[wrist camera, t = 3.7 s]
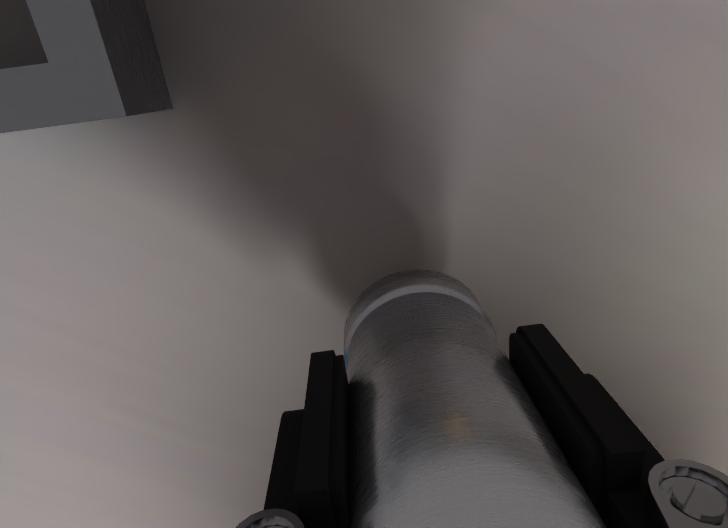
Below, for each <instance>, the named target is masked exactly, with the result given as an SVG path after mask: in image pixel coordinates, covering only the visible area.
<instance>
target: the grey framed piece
mask: <svg viewBox="0 0 728 528" xmlns="http://www.w3.org/2000/svg"><path fill="white" fill-rule="evenodd" d="M26 2H27V5H28V8H29V10H30V13H31V16H32V19H33V21H34V24H35V27H36V30H37V32H38V35H39V38H40V41H41V43H42V46H43V49H44V52H45V54H46V57H47V60H48V63H42V64H35V65H27V66H20V67H12V68H5V69H0V133H5V132H12V131H20V130H27V129H34V128H42V127H49V126H57V125H64V124H72V123H79V122H86V121H94V120H101V119H109V118H116V117H124V116H130V115H136V114H142V113H149V112H155V111H161V110H167V109H173V108H172V104H171V101H170V97H169V93H168V90H167V86H166V83H165V79H164V75H163V72H162V68H161V64H160V61H159V57H158V53H157V50H156V46H155V43H154V39H153V35H152V32H151V28H150V24H149V21H148V17H147V13H146V10H145V6H144V3H143V0H26Z"/></svg>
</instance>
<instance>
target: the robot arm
mask: <svg viewBox="0 0 728 528" xmlns="http://www.w3.org/2000/svg"><path fill="white" fill-rule="evenodd" d="M509 362H510V363H511V365H512V367H513V369H514V370H515V372H516V374H517V375H518V377H519V379H520V381H521V382H522V384H523V386H524V387H525V389H526V391H527V393H528V394H529V396H530V398H531V399H532V401H533V403H534V405H535V406H536V408H537V410H538V411H539V413H540V415H541V416H542V418H543V420H544V422H545V423H546V425H547V427H548V428H549V430H550V432H551V434H552V435H553V437H554V439H555V440H556V442H557V444H558V446H559V447H560V449H561V451H562V452H563V454H564V456H565V458H566V459H567V461H568V463H569V464H570V466H571V468H572V470H573V471H574V473H575V475H576V476H577V478H578V480H579V482H580V483H581V485H582V487H583V488H584V490H585V492H586V494H587V495H588V497H589V499H590V500H591V502H592V504H593V505H594V507H595V509H596V511H597V512H598V514H599V516H600V517H601V519H602V521H603V523H604V524H605V526H606V528H728V476H727V475H725V474H724V473H722V472H720V471H718V470H716V469H714V468H712V467H710V466H707V465H704V464H701V463H697V462H694V461H689V460H681V459H674V460H664V459H663V457H662V456H661V455H660V454H659V453H658V451H657V450H656V449H655V448H654V447H653V446H652V444H651V443H650V442H649V441H648V440H647V438H646V437H645V436H644V435H643V434H642V432H641V431H640V430H639V429H638V428H637V427H636V425H635V424H634V423H633V422H632V421H631V419H630V418H629V417H628V416H627V415H626V413H625V412H624V411H623V410H622V409H621V408H620V406H619V405H618V404H617V403H616V402H615V400H614V399H613V398H612V397H611V396H610V394H609V393H608V392H607V391H606V390H605V388H604V387H603V386H602V385H601V384H600V383H599V381H598V380H597V379H596V378H595V377H594V376H593V375H591V374H583V372H582V371H581V370H580V369H579V368H578V366H577V365H576V364H575V363H574V361H573V360H572V359H571V358H570V357H569V355H568V354H567V353H566V352H565V350H564V349H563V348H562V347H561V345H560V344H559V343H558V342H557V341H556V339H555V338H554V337H553V336H552V334H551V333H550V332H549V331H548V329H547V328H546V327H545V326H544V325H543V324H535V325H527V326H519V327H518V328H517V330H516V333H511V334H510V338H509ZM236 528H350V505H349V393H348V379H347V373H346V367H345V361H344V356H343V355H338V356H336V355H335V351H334V350H330V351H322V352H315V353H311V359H310V367H309V375H308V383H307V391H306V399H305V407H304V409H301V410H293V411H286V412H284V413H283V414H282V417H281V422H280V427H279V432H278V437H277V443H276V448H275V453H274V458H273V464H272V469H271V474H270V479H269V485H268V490H267V495H266V500H265V505H264V510H262V511H260V512H258V513H255V514H253V515H251V516H249V517H248V518H246V519H245V520H244V521H242V522H241V523H240V524H239V525H238V526H237V527H236Z"/></svg>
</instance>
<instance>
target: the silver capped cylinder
mask: <svg viewBox="0 0 728 528" xmlns="http://www.w3.org/2000/svg"><path fill="white" fill-rule="evenodd" d="M344 361H345V367H346V373H347V378H348V393H349V505H350V528H606V526H605V524H604V523H603V521H602V519H601V517H600V516H599V514H598V512H597V511H596V509H595V507H594V505H593V504H592V502H591V500H590V499H589V497H588V495H587V494H586V492H585V490H584V488H583V487H582V485H581V483H580V482H579V480H578V478H577V476H576V475H575V473H574V471H573V470H572V468H571V466H570V464H569V463H568V461H567V459H566V458H565V456H564V454H563V452H562V451H561V449H560V447H559V446H558V444H557V442H556V440H555V439H554V437H553V435H552V434H551V432H550V430H549V428H548V427H547V425H546V423H545V422H544V420H543V418H542V416H541V415H540V413H539V411H538V410H537V408H536V406H535V405H534V403H533V401H532V399H531V398H530V396H529V394H528V393H527V391H526V389H525V387H524V386H523V384H522V382H521V381H520V379H519V377H518V375H517V374H516V372H515V370H514V369H513V367H512V365H511V363H510V362H509V360H508V358H507V357H506V355H505V353H504V351H503V350H502V348H501V346H500V345H499V343H498V341H497V338H496V334H495V330H494V328H493V326H492V323H491V322H490V320H489V318H488V317H487V315H486V313H485V312H484V310H483V308H482V307H481V305H480V303H479V302H478V300H477V299H476V297H475V295H474V294H473V293H472V292H471V291H470V290H469V289H468V288H467V287H466V286H465V285H464V284H463V283H461V282H459V281H458V280H456V279H455V278H453V277H450V276H448V275H446V274H443V273H439V272H435V271H429V270H409V271H403V272H398V273H395V274H392V275H389V276H387V277H385V278H383V279H381V280H379V281H377V282H376V283H374V284H372V285H371V286H370V287H369V288H367V289H366V290H365V291H364V292H363V293H362V294H361V295H360V296H359V297H358V299H357V300H356V301H355V303H354V304H353V306H352V308H351V309H350V311H349V314H348V316H347V319H346V323H345V329H344Z"/></svg>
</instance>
